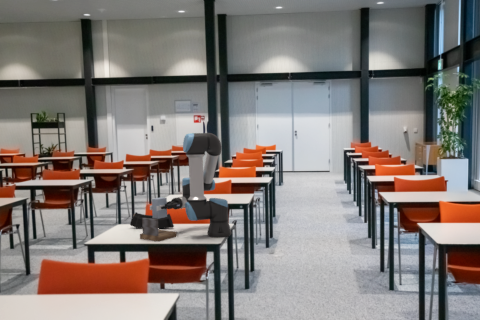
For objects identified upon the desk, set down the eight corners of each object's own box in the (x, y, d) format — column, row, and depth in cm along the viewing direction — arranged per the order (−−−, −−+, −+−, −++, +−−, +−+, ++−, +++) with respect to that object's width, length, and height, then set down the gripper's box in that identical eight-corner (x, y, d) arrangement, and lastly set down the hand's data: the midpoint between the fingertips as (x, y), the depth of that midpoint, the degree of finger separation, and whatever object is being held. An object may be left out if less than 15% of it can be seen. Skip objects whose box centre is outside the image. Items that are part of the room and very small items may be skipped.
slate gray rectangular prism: (167, 216, 331) (166, 197, 330) (158, 218, 324) (157, 199, 323) (161, 215, 333) (160, 197, 333) (152, 218, 327) (151, 198, 326)
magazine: (177, 215, 356) (136, 202, 361) (175, 216, 353) (135, 203, 358) (170, 239, 358) (130, 226, 363) (169, 240, 355) (129, 226, 360)
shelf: (176, 236, 329) (175, 216, 328) (158, 241, 316) (158, 220, 315) (158, 234, 338) (157, 214, 338) (140, 238, 325) (139, 218, 325)
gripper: (189, 209, 338) (164, 215, 319) (168, 207, 348) (143, 213, 329) (189, 198, 338) (164, 203, 318) (168, 196, 348) (142, 201, 329)
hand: (153, 208), depth 324 cm, fingers closed on slate gray rectangular prism, 5 cm apart
